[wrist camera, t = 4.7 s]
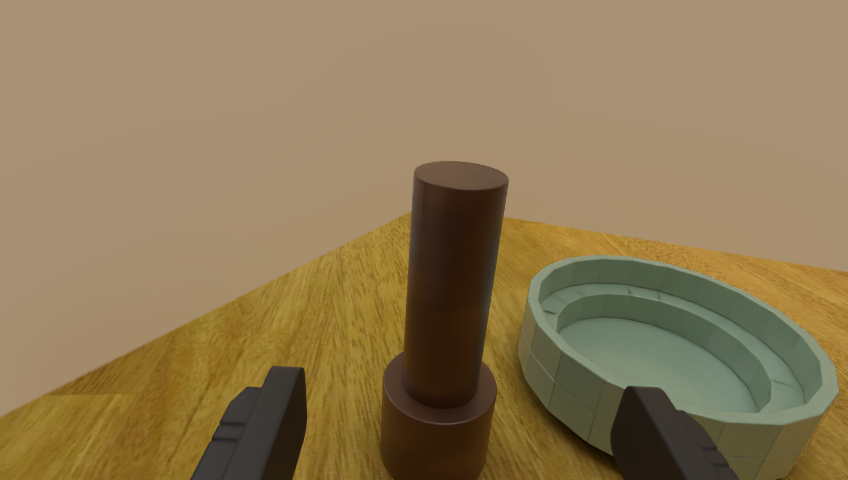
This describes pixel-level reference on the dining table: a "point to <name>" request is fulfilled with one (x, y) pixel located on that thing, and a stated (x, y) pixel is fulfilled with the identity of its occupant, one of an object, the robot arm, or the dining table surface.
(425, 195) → the pestle
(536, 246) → the dining table surface
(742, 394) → the bowl
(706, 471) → the robot arm
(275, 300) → the dining table surface
